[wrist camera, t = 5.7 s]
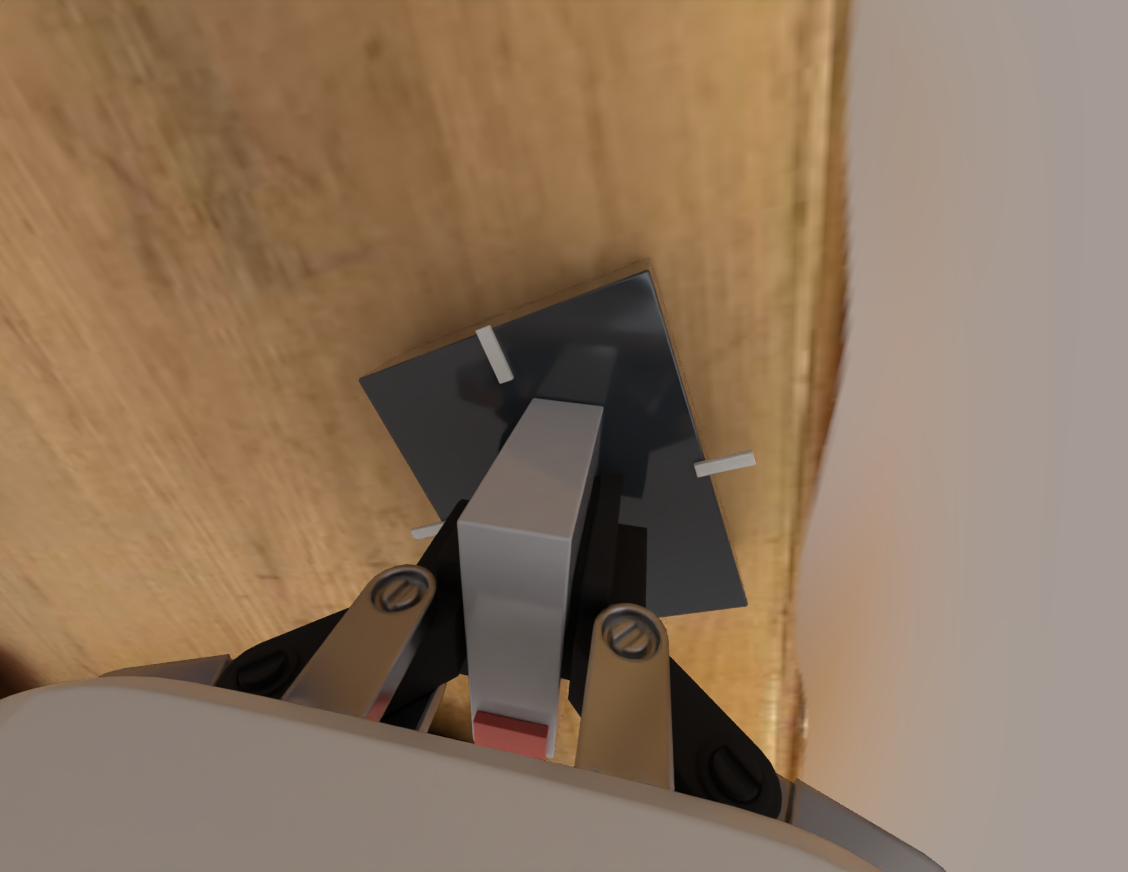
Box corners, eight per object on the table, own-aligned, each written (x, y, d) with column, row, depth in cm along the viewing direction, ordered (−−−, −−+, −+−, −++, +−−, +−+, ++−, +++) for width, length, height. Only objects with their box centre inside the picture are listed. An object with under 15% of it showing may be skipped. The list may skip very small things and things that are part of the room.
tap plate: (373, 359, 14) (319, 390, 12) (691, 235, 11) (701, 244, 9) (504, 589, 18) (482, 646, 16) (770, 546, 15) (791, 609, 13)
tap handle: (532, 396, 11) (449, 531, 7) (604, 405, 11) (568, 550, 6) (528, 573, 14) (468, 754, 9) (585, 583, 14) (551, 772, 9)
